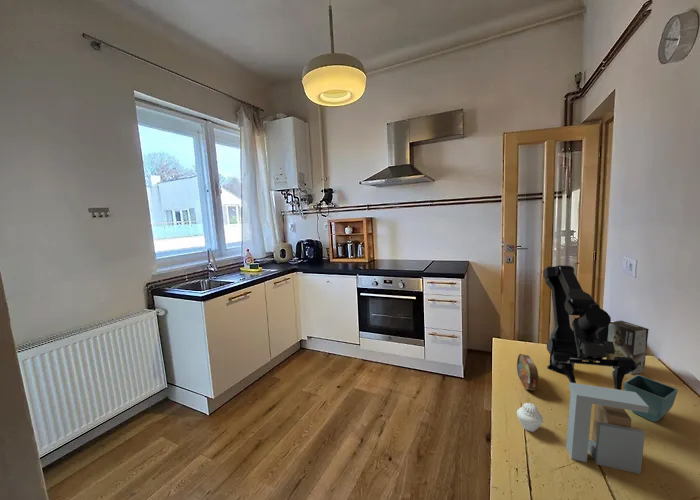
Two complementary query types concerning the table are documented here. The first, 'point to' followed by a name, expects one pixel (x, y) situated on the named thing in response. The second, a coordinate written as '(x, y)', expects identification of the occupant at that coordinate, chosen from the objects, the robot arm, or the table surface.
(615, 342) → the coffee box
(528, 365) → the tin
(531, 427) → the muffin
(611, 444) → the grey gallows bracket
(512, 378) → the table surface
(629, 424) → the brown wooden block
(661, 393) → the flower pot
